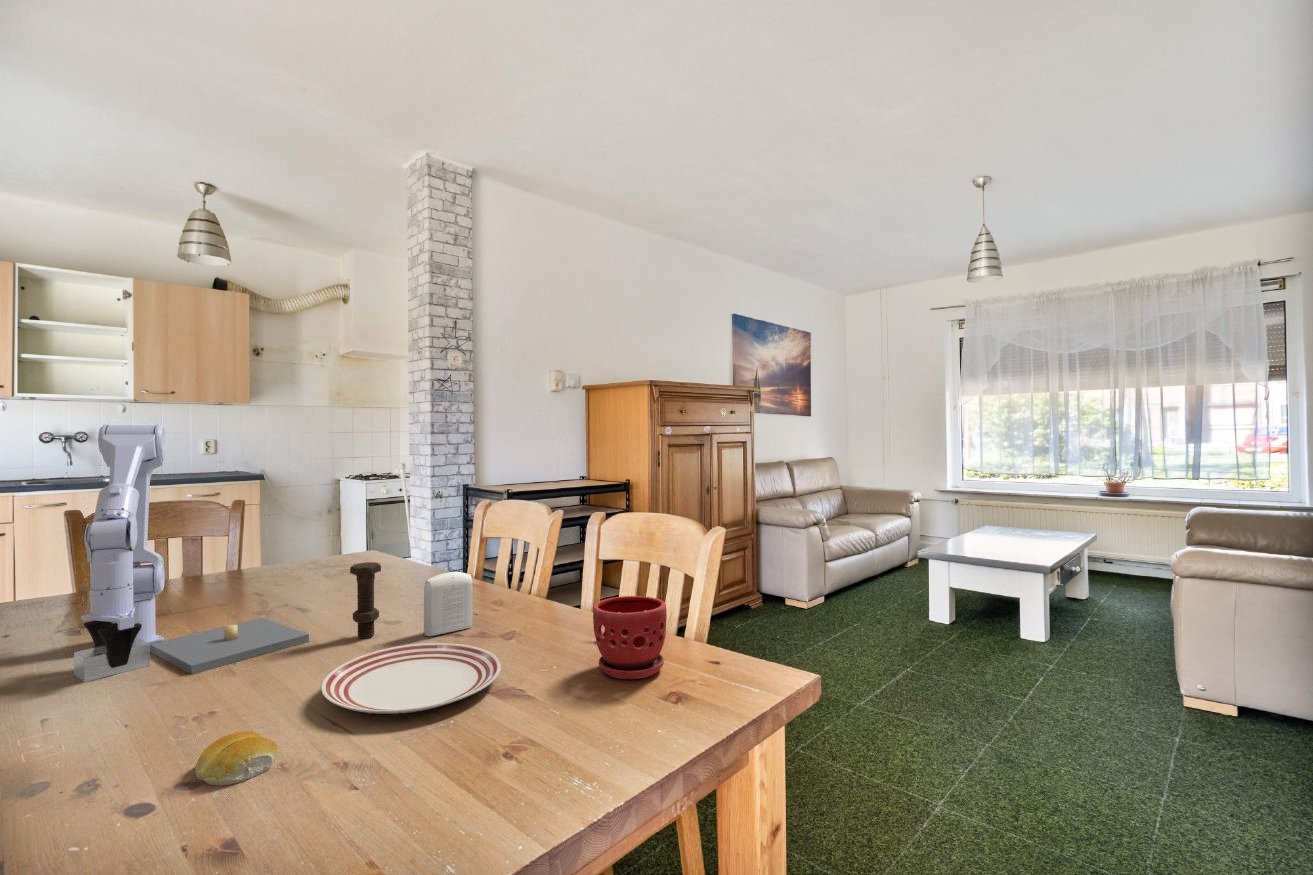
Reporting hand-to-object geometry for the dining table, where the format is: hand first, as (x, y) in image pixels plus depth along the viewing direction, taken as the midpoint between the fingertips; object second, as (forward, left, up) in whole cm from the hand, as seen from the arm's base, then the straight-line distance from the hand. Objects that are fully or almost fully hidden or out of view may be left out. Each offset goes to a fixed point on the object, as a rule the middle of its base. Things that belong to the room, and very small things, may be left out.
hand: (112, 662), depth 109 cm
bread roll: (+54, -2, -2) cm, 54 cm away
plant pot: (+77, +51, -2) cm, 92 cm away
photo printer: (+32, +47, -2) cm, 57 cm away
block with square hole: (0, 0, -1) cm, 1 cm away
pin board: (+4, +17, -1) cm, 18 cm away
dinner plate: (+52, +25, -2) cm, 58 cm away
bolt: (+21, +35, -2) cm, 41 cm away
